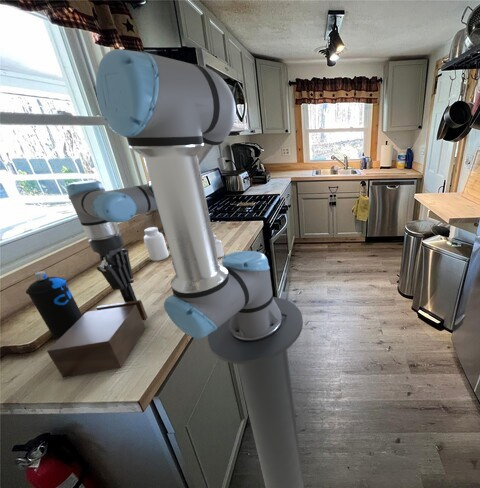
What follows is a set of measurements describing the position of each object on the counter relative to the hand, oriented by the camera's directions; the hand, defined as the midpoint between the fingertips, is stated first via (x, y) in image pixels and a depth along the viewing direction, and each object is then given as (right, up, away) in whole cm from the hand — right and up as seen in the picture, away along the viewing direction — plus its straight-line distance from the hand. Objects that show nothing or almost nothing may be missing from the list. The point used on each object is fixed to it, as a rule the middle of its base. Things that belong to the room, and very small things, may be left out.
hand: (131, 302), depth 84 cm
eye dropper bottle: (+12, +13, +40) cm, 44 cm away
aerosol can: (-16, -7, -4) cm, 18 cm away
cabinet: (+3, -10, -13) cm, 17 cm away
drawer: (+2, -7, -7) cm, 10 cm away
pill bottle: (-17, +12, +41) cm, 47 cm away
